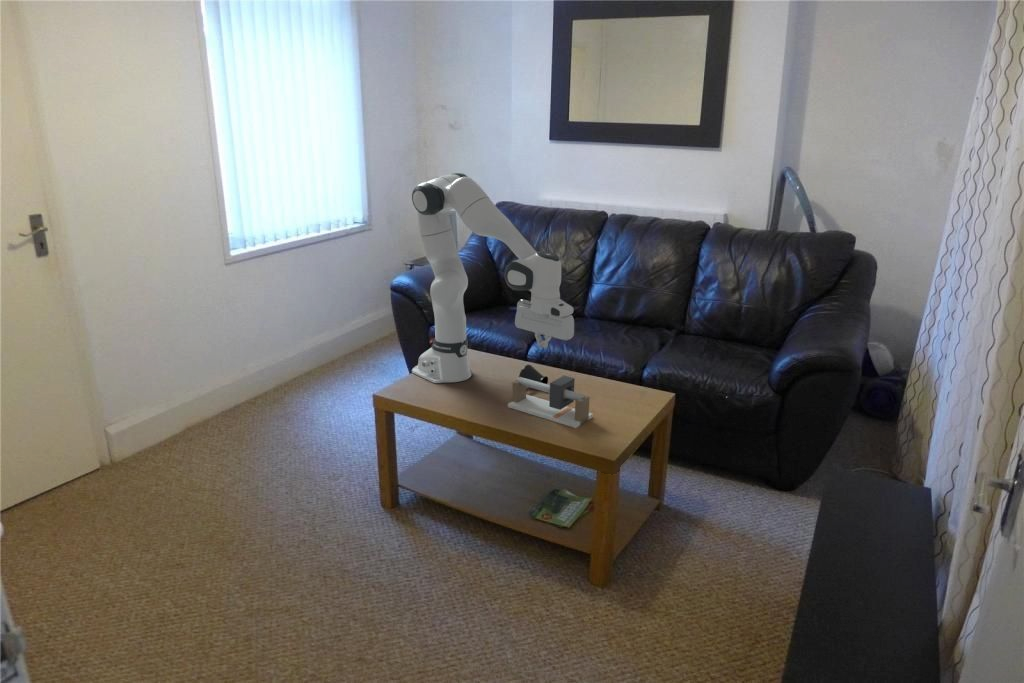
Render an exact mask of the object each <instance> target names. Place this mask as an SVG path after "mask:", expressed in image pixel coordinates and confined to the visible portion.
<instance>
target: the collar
mask: <svg viewBox="0 0 1024 683" xmlns="http://www.w3.org/2000/svg"><path fill="white" fill-rule="evenodd" d="M549 385H550V393H549V401H550V402H549V407H552V408H556V409H559V410H561V409H562V408H564V407H566V406H569V405H571V404H572V403H574V402H575V400H573V399H569V398H564V389H568V390H569V391H573V392H575V378H574V377H572V376H571V377H570V376H567V375H562V376H560V377H558V378H556V379H554V380H553V381H551V382H549Z"/></svg>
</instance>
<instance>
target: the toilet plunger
mask: <svg viewBox="0 0 1024 683" xmlns="http://www.w3.org/2000/svg"><path fill="white" fill-rule="evenodd" d="M519 377H522V378H526V379H529V380H533V381H537V382H540V383H544V384H548V383H549V377H548V376H545V375H543V374H541V372H539V371H538V370H537V369H536V368H535V367H533V365H531V364H526V365H525V366H523V367H522V368H521V370H520V372H519V375H518V378H519ZM531 389H532V388H531V387H527V386H526V394H527V393H528V392H529V391H530V390H531Z"/></svg>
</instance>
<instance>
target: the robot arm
mask: <svg viewBox="0 0 1024 683" xmlns="http://www.w3.org/2000/svg"><path fill="white" fill-rule="evenodd" d="M487 194H488V193H486V191H484V189H483V188H482V187H481V186H480V185H479V183H477V182H476V181H475V180H474V179H473V178H471V177H470V176H469V177H468V175H467V174H465V173H462V172H460V173H459V172H453V173H451V174H446V175H439V176H437V177H436V178H432V179H430V180H428V181H423V182H421V183H419V184H418V185H416V186H415V187H414V188H413V190H412V193H411V200H412V203H413V204H412V205H413V206H414V208H415V210H416V217H417V225H418V230H419V235H420V238H421V239H420V240H421V244H422V247H423V252H424V255H425V259H426V260H427V261H428V264H429V265H430V267H431V271H432V272H433V275H434V279H433V280H432V281H431V282H432V283H431V285H430V290H429V295H430V299H431V304H432V305H431V306H432V310H433V315H434V316H433V317H434V333H435V334H434V335H435V337H433V338H431V339H430V340H429V344H432V345H431V347H430V348H429V349H427V350H425V351H424V352H423V353H421V354H420V356H419V357H418V361H417V362H418V363H417V365H415V366H414V367H413V368H412V369H411V373H412V374H414V375H417V376H418V377H420V378H423V379H425V380H427V381H429V382H430V383H432V384H443V383H457V382H463V381H466V380H469V378H471V376H472V372H471V368H470V364H469V357H468V348H469V347H468V346H469V345H468V343H469V342H468V337H467V316H466V313H465V305H464V294H465V292H466V290H467V289H468V286H469V277H468V275H467V272H466V270H465V267H464V264H463V261H462V259H461V257H460V254H459V252H458V248H457V247H458V246H457V244H456V239H455V234H454V231H453V228H452V227H453V226H452V224H451V219H450V212H451V210H452V209H454V211H455V212H456V213H457V214H458V216H459V217H460V219H461V221H462V222H463V223H464V225H465V226H466V228H468V230H469V231H470V232H472V233H473V234H475V235H477V236H481V237H486V238H487V237H488V238H491V239H495V240H499V241H500V242H503V243H504V244H505V245H506V246H507V247H508V248H509V249H510V250H511V252H512V253H513V254H514V255H515V256H516V257H517V258H518V259H514V260H512V261H510V262H509V263H507V265H506V266H505V268H504V272H503V273H504V274H503V275H504V276H503V278H504V281H505V283H506V285H507V286H508V287H509V288H510V289H511V290H513V291H529V292H531V295H530V296H531V297H530V300H526V299H520V300H519V301H518V302H517V303H516V313H515V319H514V325H515V327H516V328H518V329H521V330H524V331H529V332H532V333H534V338H535V339H536V345H537V347H539V348H543V349H547V348H548V347H549V342H550V341H551V339H552V338H554V339H557V340H561V341H569V340H571V339H572V338H574V335H575V319H574V317H573V315H572V314H573V313H574V307H573V306H572V305H570V304H569V303H567V302H566V301H564V300H563V299H561V292H560V286H561V284H562V262H561V258H560V257H559V256H558V255H557V254H556V253H554V252H551V251H546V250H538V249H537V248H536V247H535V246H534V245H533V244H532V243H531V241H530V240H529V239H528V238H527V237H526V236H525V234H524V233H523V232H522V231H521V230H520V229H519V227H518V226H516V225H515V223H514V222H513V221H511V220H510V219H509V218H508V217H507V216H506V215H505V214H504V213H503V212H502V211H501V210H500V209H499V208H498V207H497V205H495V203H494V202H493V201H492V199H491V197H489V196H488V195H487ZM541 335H544V339H545V340H543V338H542V336H541Z"/></svg>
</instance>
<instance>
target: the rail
mask: <svg viewBox="0 0 1024 683" xmlns="http://www.w3.org/2000/svg"><path fill="white" fill-rule="evenodd" d="M527 387H531V389H534V390H538V391H541V392H545V393H548V394H550V384H548V383H547V384H544V383H540V382H537V381H533V380H529V379H526V378H522V377H519V376H518V378H517V379H516V380H514V381H513V382H512V395H511V396H512V399H511V401H510V402H509V403H507V407H508V408H510V409H514V410H515V411H519V412H522V413H525V414H529V415H532V416H535V417H538V418H542V419H545V420H548V421H552V422H555V423H557V424H562V425H565V426H567V427H571V428H574V429H577V428H578V427H580V426H582V425H583V424H585V423H586V422H588V421H590V419H592V418H593V417H594V416H593V413H591V412H590V396H589V395H586V394H584V393H580V392H577V391H574V392H573V391H569V390H568V389H564V398H569V399H573V400H574V402H575V404H574V405H575V406H574V407H572V406H569V405H567V406H566V407H564V408H562V409H561V410H559V409H556V408H552V407H549V402H550V400H547V399H543V398H540V397H538V396H532V395H529V394H527V393H526V388H527Z"/></svg>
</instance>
